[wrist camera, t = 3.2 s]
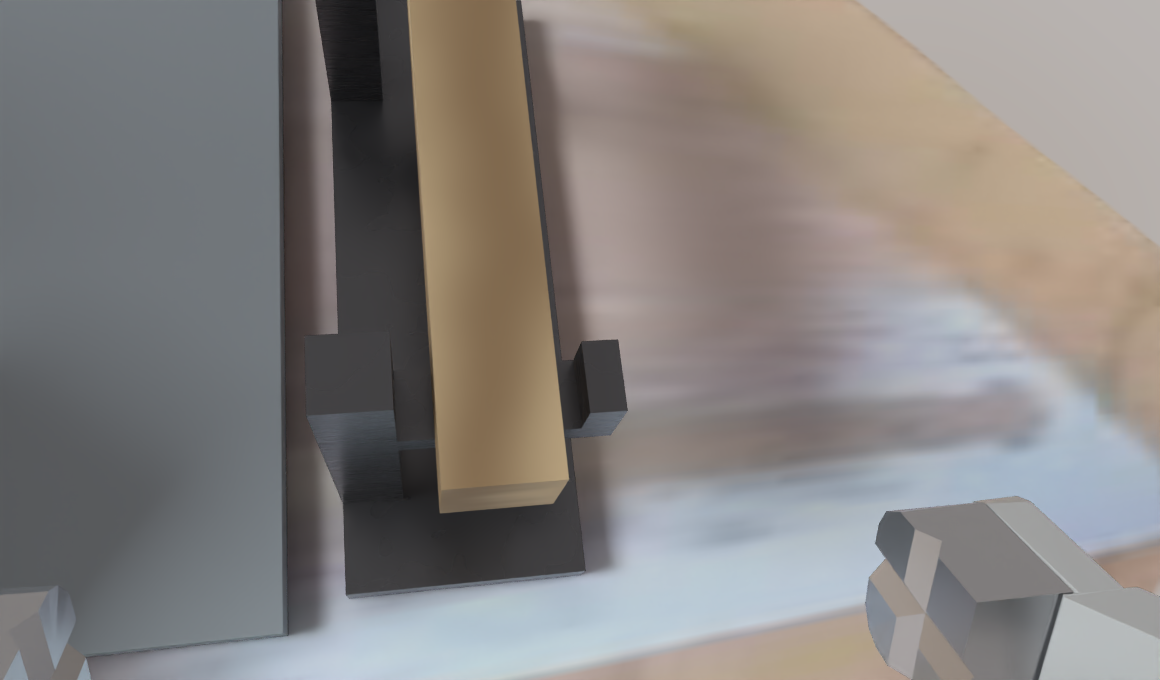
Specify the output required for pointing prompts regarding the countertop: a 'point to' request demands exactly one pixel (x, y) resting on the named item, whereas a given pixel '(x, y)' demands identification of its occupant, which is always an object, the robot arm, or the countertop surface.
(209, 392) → the rubber mat
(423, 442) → the hook stand
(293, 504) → the countertop surface
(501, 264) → the oak rail
